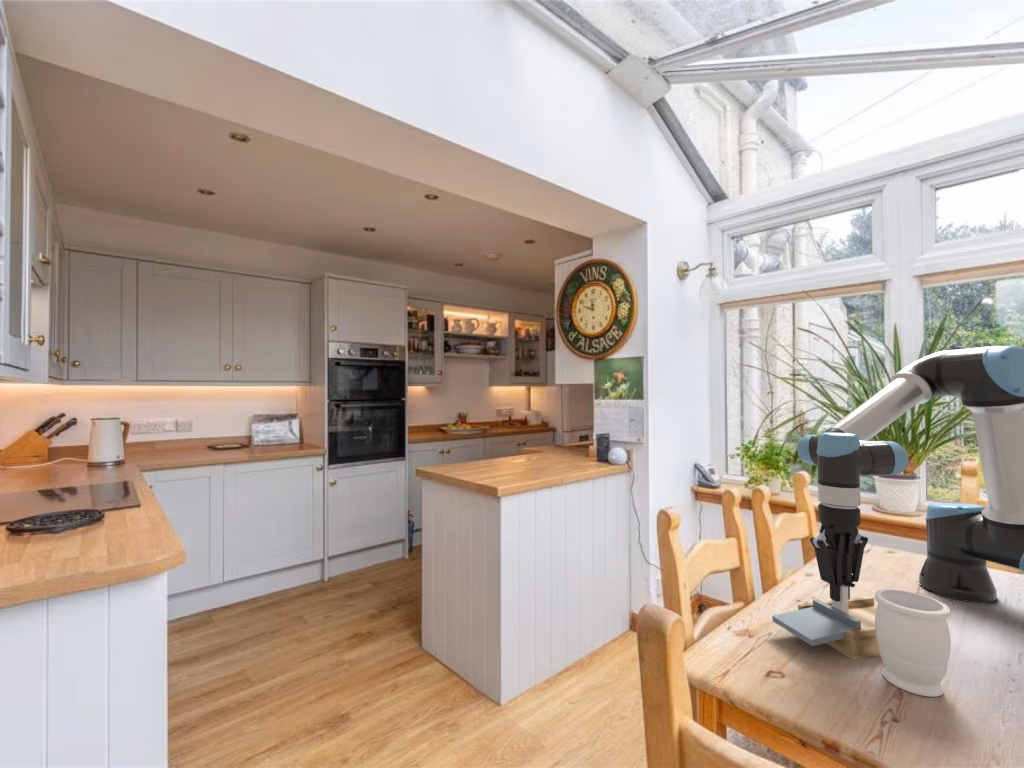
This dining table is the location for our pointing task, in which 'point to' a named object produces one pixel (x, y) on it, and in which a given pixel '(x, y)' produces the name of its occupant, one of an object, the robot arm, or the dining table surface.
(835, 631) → the cover plate
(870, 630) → the slide box
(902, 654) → the jar
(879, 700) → the dining table surface
